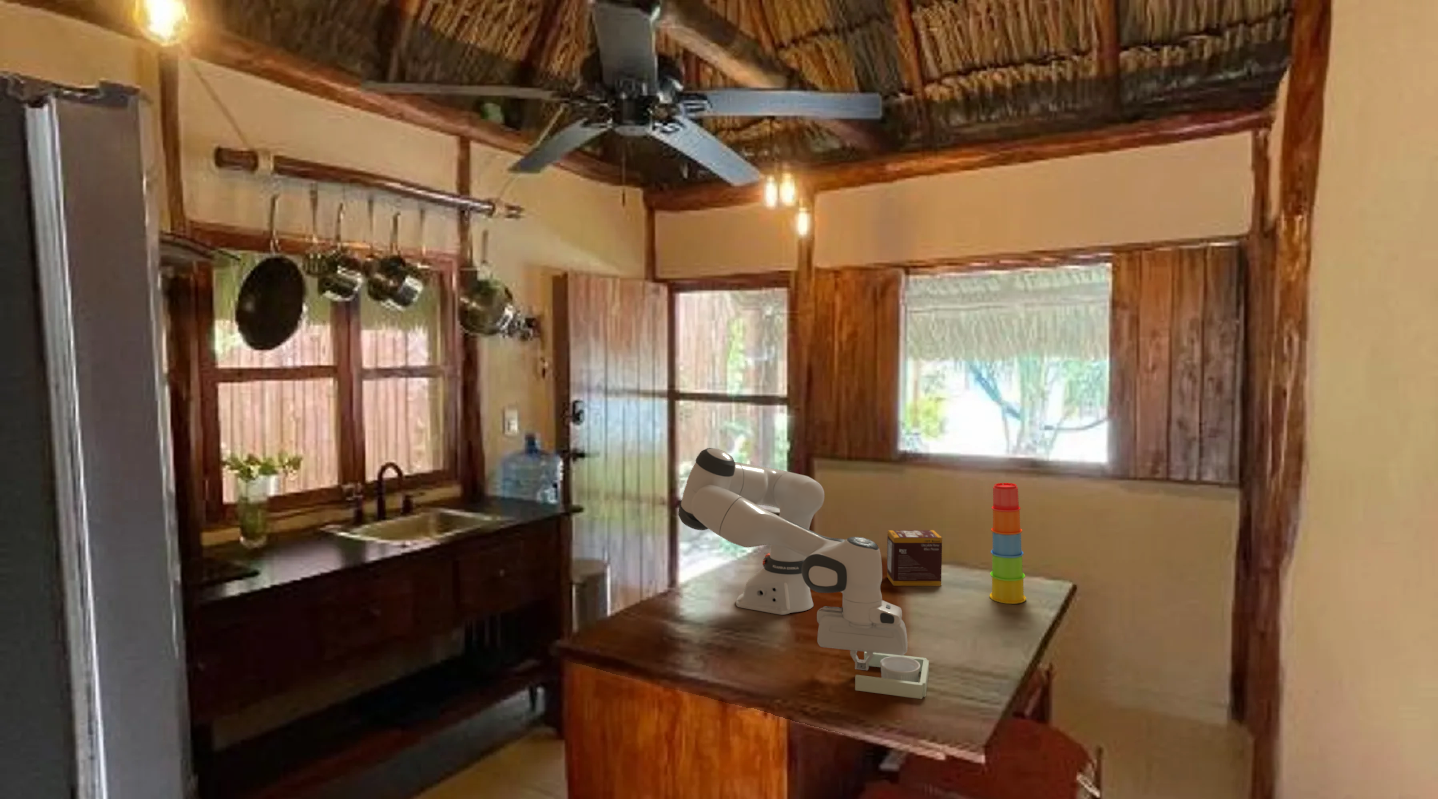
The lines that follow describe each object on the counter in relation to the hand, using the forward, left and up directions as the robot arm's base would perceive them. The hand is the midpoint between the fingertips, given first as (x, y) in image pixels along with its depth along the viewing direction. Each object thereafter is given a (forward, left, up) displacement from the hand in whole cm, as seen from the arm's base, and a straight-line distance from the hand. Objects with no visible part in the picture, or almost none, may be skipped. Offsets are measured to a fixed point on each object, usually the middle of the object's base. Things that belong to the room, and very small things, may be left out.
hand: (861, 668), depth 179 cm
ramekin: (+9, -1, -2) cm, 9 cm away
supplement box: (+6, +78, -2) cm, 79 cm away
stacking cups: (+34, +68, -2) cm, 76 cm away
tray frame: (+7, -1, -2) cm, 7 cm away
